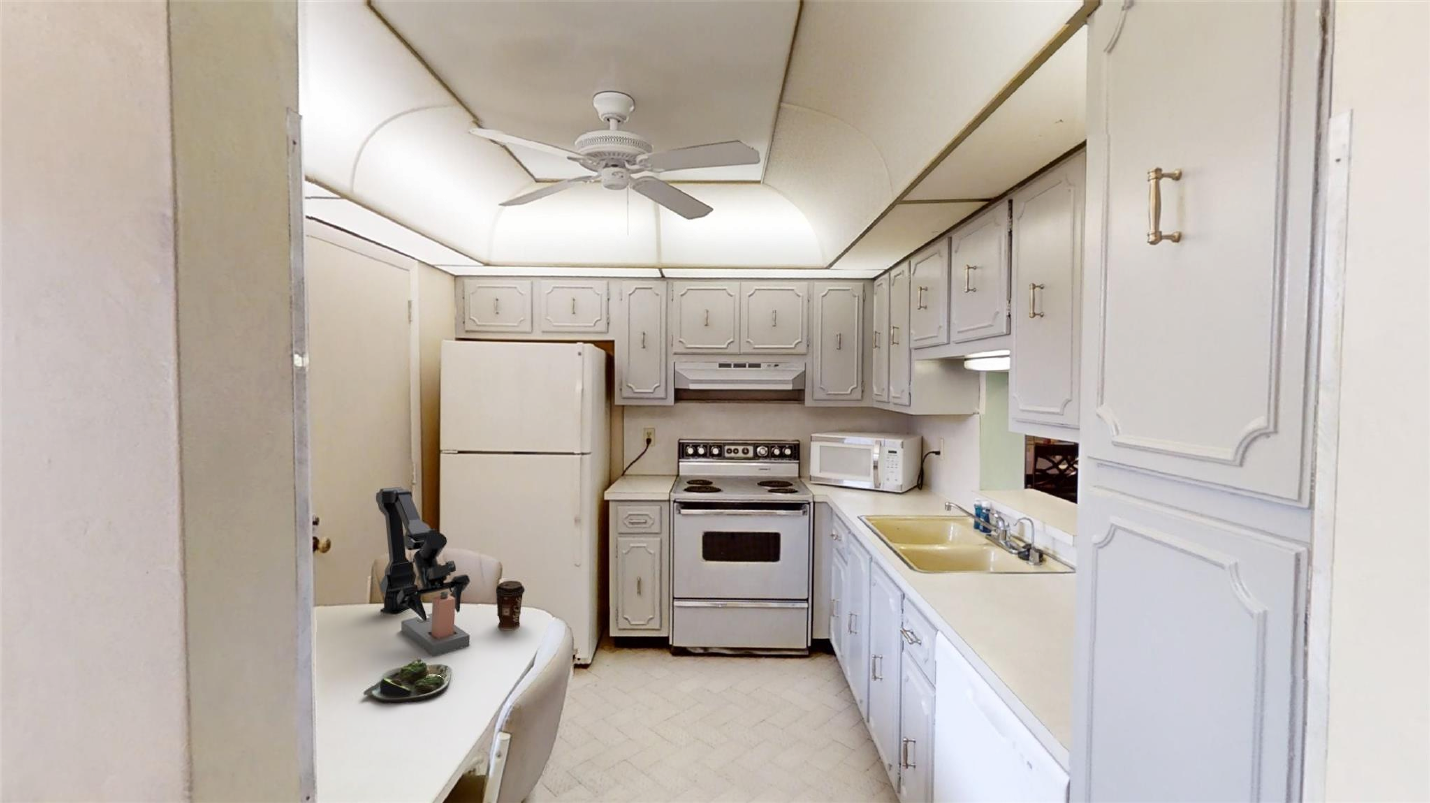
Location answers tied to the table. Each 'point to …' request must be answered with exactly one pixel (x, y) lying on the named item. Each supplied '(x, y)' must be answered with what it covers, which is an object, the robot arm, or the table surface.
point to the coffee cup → (509, 604)
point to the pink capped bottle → (443, 616)
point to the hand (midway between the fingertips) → (442, 615)
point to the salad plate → (411, 683)
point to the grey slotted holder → (422, 636)
